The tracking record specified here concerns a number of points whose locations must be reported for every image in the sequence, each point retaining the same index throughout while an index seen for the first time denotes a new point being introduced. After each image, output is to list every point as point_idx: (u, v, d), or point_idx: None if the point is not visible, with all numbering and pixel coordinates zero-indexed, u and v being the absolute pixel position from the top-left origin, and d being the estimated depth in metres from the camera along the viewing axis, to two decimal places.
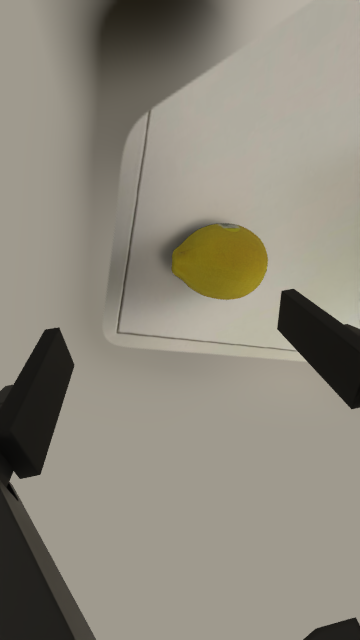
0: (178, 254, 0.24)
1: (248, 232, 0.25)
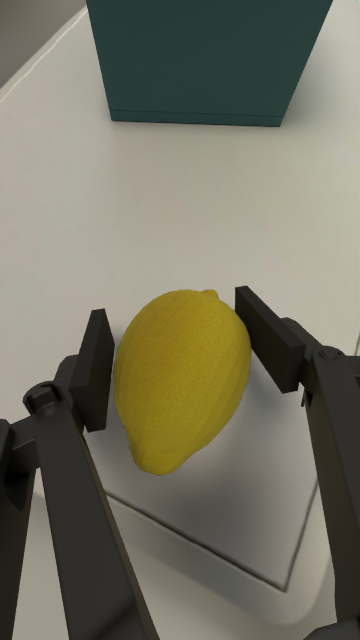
0: (135, 457, 0.13)
1: (134, 319, 0.14)
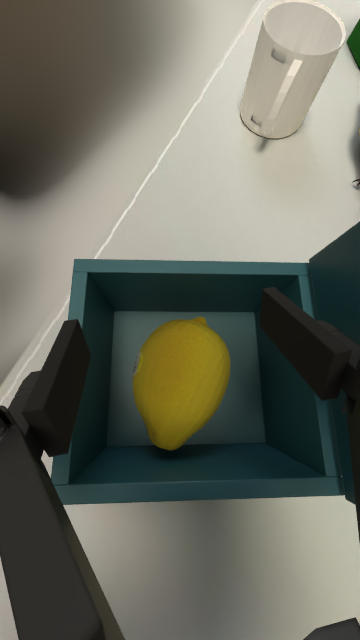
0: (154, 439, 0.18)
1: (148, 342, 0.20)
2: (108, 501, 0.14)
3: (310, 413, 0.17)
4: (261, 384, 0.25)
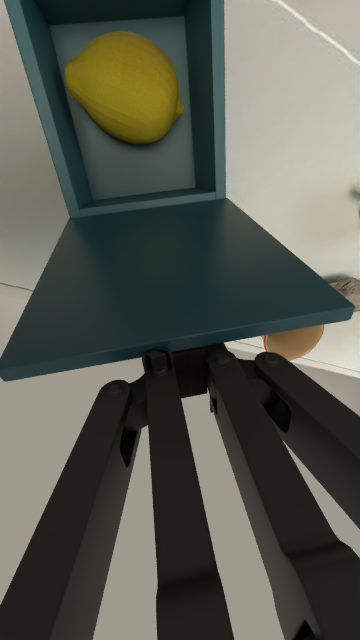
0: (69, 62, 0.21)
1: (151, 42, 0.22)
2: (6, 4, 0.17)
3: (117, 203, 0.24)
4: (136, 194, 0.32)
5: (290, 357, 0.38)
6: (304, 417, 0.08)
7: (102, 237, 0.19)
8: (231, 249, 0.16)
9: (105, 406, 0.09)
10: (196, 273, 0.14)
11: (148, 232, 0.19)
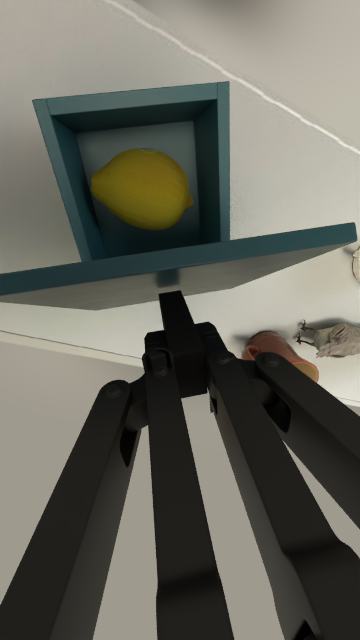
0: (95, 174, 0.25)
1: (166, 157, 0.25)
2: (49, 152, 0.20)
3: None
4: None
5: None
6: (304, 417, 0.08)
7: None
8: None
9: (105, 406, 0.09)
10: None
11: None
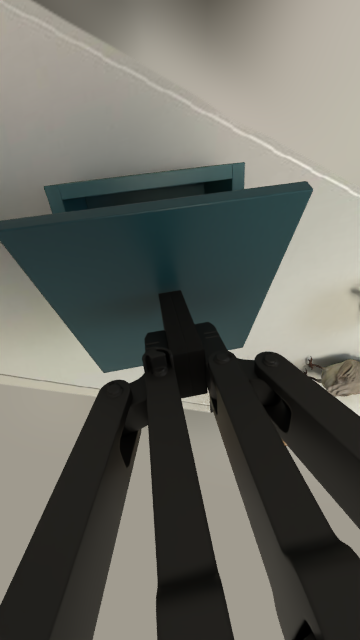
0: None
1: None
2: None
3: None
4: None
5: None
6: (304, 417, 0.08)
7: None
8: None
9: (105, 406, 0.09)
10: None
11: None
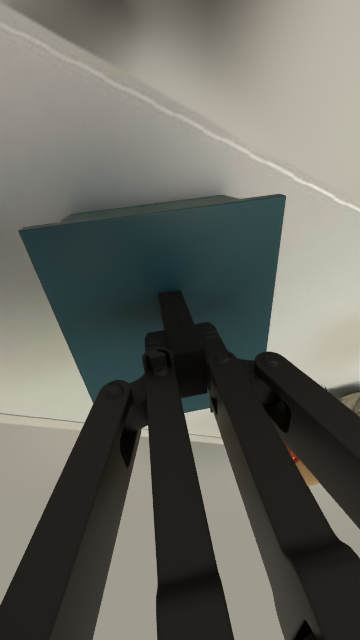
0: None
1: None
2: None
3: None
4: None
5: (310, 482, 0.38)
6: (304, 417, 0.08)
7: None
8: None
9: (105, 406, 0.09)
10: None
11: None
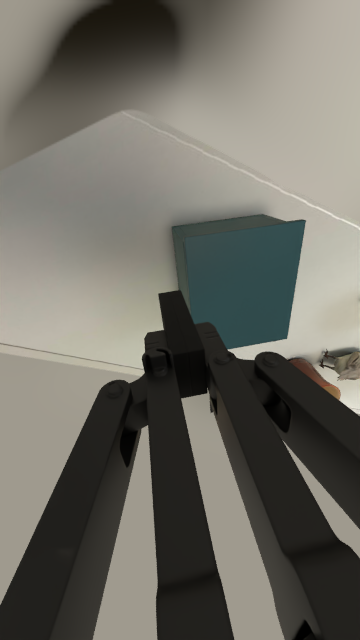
0: None
1: None
2: None
3: None
4: None
5: None
6: (304, 417, 0.08)
7: None
8: None
9: (105, 406, 0.09)
10: None
11: None
